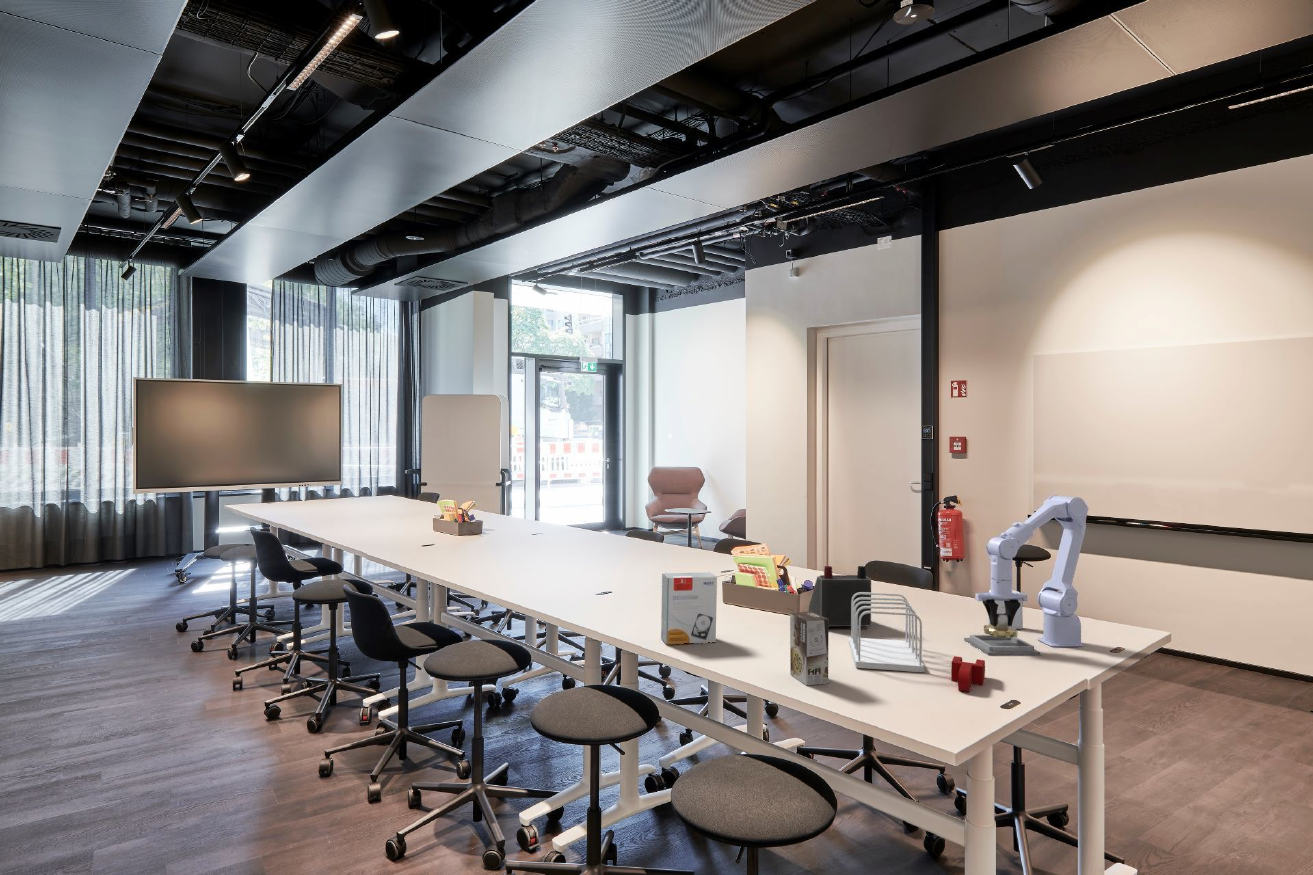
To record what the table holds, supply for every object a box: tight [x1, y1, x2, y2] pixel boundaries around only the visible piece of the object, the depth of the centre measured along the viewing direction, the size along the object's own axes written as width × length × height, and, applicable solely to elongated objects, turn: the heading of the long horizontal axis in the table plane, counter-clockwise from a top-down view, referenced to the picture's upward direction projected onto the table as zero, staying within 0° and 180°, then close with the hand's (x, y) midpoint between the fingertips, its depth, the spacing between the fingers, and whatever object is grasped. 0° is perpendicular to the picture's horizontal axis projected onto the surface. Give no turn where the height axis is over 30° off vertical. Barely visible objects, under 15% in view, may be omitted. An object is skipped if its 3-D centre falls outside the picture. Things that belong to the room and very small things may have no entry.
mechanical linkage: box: [950, 655, 986, 693], centre depth 181 cm, size 16×7×5 cm, turn 151°
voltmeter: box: [808, 565, 872, 630], centre depth 239 cm, size 16×16×20 cm
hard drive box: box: [660, 571, 718, 645], centre depth 218 cm, size 16×8×20 cm, turn 102°
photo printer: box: [987, 589, 1024, 630], centre depth 235 cm, size 10×4×12 cm, turn 63°
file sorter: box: [848, 592, 926, 673], centre depth 202 cm, size 25×17×16 cm
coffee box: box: [789, 610, 830, 686], centre depth 183 cm, size 9×6×16 cm
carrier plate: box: [963, 634, 1042, 656], centre depth 212 cm, size 15×15×2 cm
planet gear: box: [983, 611, 1019, 638], centre depth 212 cm, size 9×9×6 cm
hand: (1001, 625), depth 212 cm, fingers closed on planet gear, 4 cm apart
